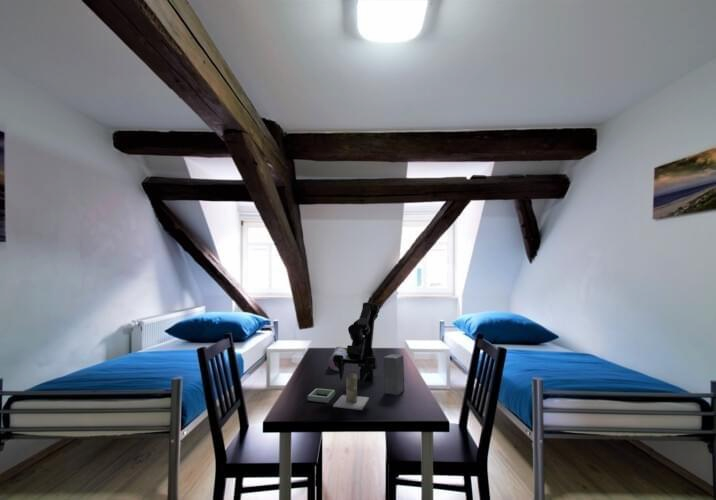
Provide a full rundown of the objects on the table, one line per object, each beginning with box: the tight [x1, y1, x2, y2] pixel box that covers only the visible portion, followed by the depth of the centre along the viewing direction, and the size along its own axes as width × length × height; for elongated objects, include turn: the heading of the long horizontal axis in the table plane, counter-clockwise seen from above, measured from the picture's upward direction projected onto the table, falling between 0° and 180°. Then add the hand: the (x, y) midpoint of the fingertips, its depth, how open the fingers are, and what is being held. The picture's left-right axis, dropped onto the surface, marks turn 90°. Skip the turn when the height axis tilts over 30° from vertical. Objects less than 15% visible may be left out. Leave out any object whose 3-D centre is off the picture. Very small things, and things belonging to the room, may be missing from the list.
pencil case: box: [328, 345, 348, 372], centre depth 191 cm, size 21×9×10 cm, turn 177°
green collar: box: [307, 388, 336, 404], centre depth 144 cm, size 9×9×2 cm
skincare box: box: [383, 353, 406, 396], centre depth 151 cm, size 8×7×16 cm
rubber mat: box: [332, 394, 370, 411], centre depth 138 cm, size 12×12×1 cm
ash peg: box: [345, 372, 358, 403], centre depth 139 cm, size 4×4×11 cm
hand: (351, 380), depth 139 cm, fingers open, 9 cm apart
